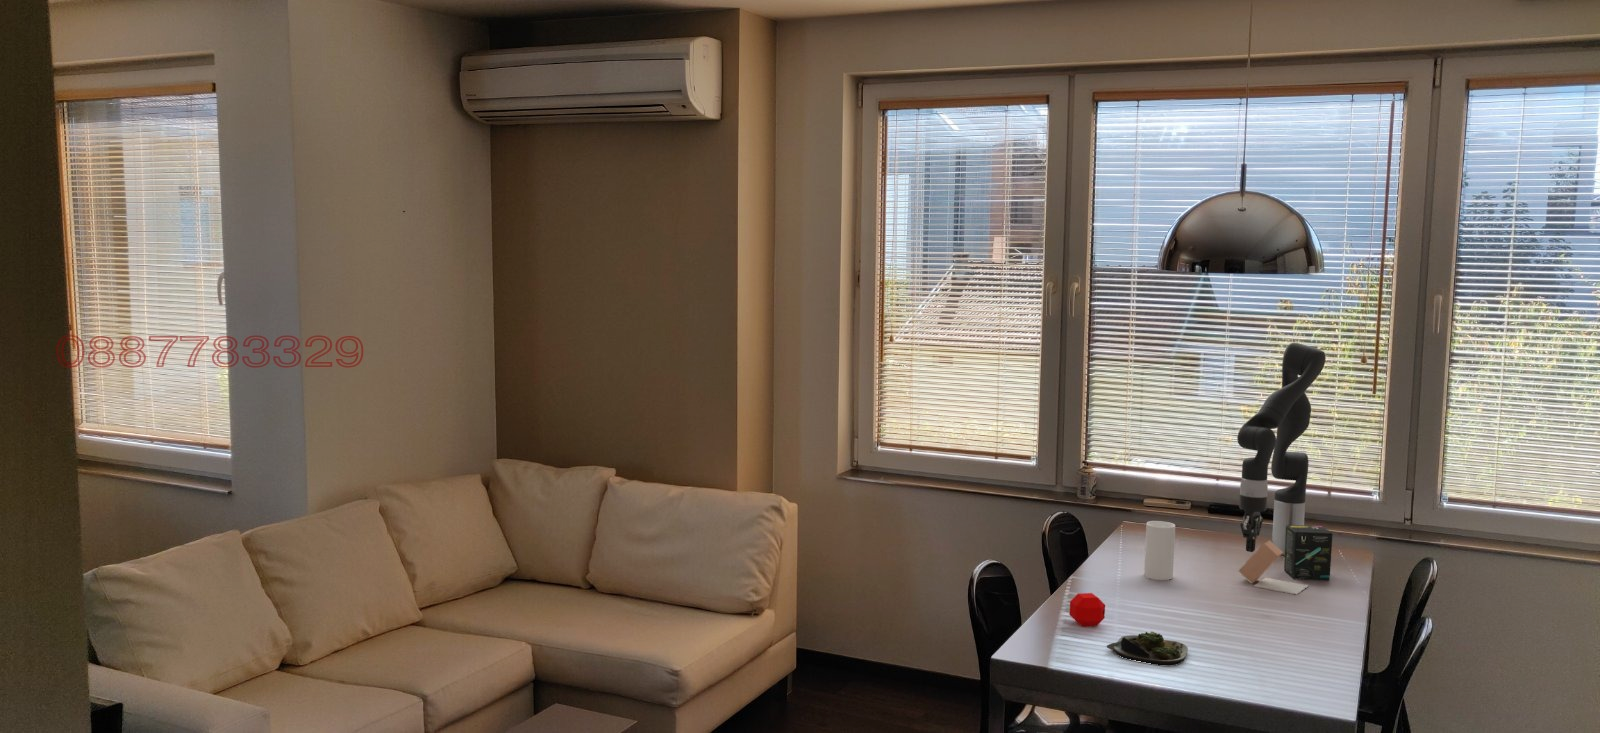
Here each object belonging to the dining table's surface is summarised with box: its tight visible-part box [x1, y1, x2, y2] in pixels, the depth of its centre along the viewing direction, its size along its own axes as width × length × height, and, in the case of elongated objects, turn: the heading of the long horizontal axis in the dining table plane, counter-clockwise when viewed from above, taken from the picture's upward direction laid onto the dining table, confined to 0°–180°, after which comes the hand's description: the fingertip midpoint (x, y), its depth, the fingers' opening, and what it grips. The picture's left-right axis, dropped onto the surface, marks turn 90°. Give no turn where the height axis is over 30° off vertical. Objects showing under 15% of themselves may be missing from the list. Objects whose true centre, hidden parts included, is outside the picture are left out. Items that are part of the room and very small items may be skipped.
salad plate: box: [1106, 631, 1189, 666], centre depth 275 cm, size 19×18×5 cm
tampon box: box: [1283, 525, 1333, 581], centre depth 342 cm, size 11×9×15 cm
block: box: [1237, 539, 1283, 585], centre depth 334 cm, size 5×5×12 cm
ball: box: [1069, 592, 1106, 628], centre depth 294 cm, size 8×8×8 cm
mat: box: [1253, 577, 1309, 596], centre depth 331 cm, size 11×12×1 cm
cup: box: [1143, 520, 1176, 581], centre depth 339 cm, size 8×8×16 cm
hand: (1250, 551), depth 336 cm, fingers closed
